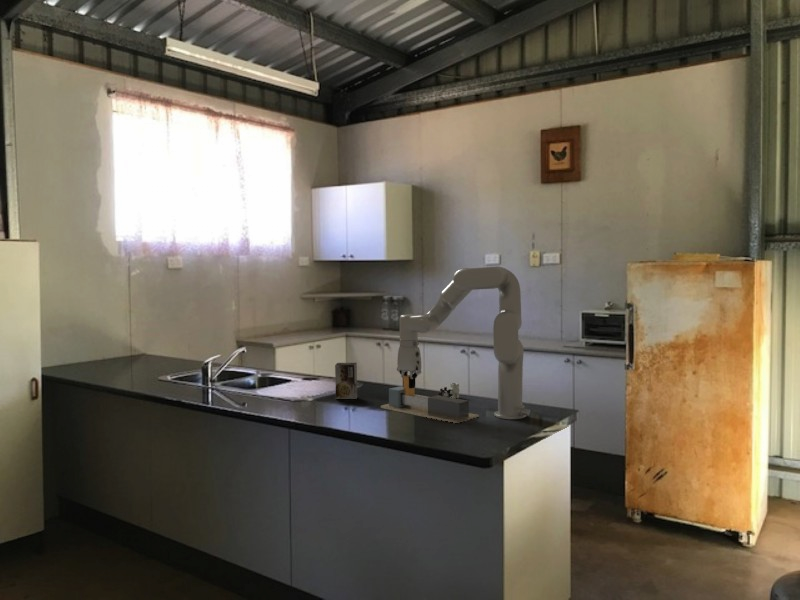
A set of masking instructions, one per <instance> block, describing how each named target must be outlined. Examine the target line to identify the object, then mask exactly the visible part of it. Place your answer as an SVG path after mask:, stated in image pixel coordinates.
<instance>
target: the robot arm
mask: <svg viewBox="0 0 800 600" xmlns="http://www.w3.org/2000/svg"><path fill="white" fill-rule="evenodd" d="M493 289H498V291H499V294H498V295H499V297H498V305H499V306H498V314H497V315H496V316H495V318H494V321H493V329H492V330H493V332H492V333H493V335H492V336H493V355H494V357H495V359H496V360H497V361H498V368H497V369H498V370H497V371H498V372H497V376H498V377H497V392H498V393H497V409H498V410H496V411H494V412H493V415H494V417H495V416H496V418H498V419H502V420H522V419H525V418H526V417H527V416H530V414H531V410H530V409H528V408H526V407H525V405H523V375H524V374H523V371H524V370H523V366H524V364H523V363H524V351H525V350H524V345H523V343H522V342H521V340H519V330H520V329H521V327H522V322H523V321H522V303H521V302H522V300H521V299H522V297H521V293H522V292H521V286H520V283H519V280H518V278H517V276H516V275H515V274H514V273H513V272H512V271H511V270H509V269H507V268H505V267H503V266H486V267H485V266H484V267H463V268H459V269H457V271H456V272H454V274H453V277H452V280H451V282H449V283H448V285H447V286H446V287H444V289H443V290H442V291H441V292H440V295H439V298H438V300H437V302H436V304H434V305H433V307H432V308H431V309H430V310H429V311H428V312H427V313H425V314H420V315H417V314H414V313H413V314H410V313H408V314H401V315H400V316H399V347H398V349H397V351H398V352H397V360H396V361H397V364H396V365H397V367H396V371H397V372H398V373H399V374H400V377H401V378H402V379H403V376H405V375H410V379H409V388H416V379H417V377H418V376H419V375H421V374H422V356H421V349H420V347H418V346H419V344H420V343H419V341H418V335H419V334H418V333H420V334H427V333H430V332H433V331H434V330H436V329H438V328H439V326H441V324H443V322H444V321H446V319H447V318H448V317H449V316H450V314H451V313H453V311H454V310H455V309H456V308H457V306H458V305H459V304H460V303H461V302H462V301H463V300H464V299H465V298H466V297H467V296H468V295H469V294H470V293H471V292H472V291H473V290H474V291H475V290H477V291H478V290H493Z"/></svg>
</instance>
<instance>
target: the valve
mask: <svg viewBox="0 0 800 600" xmlns="http://www.w3.org/2000/svg"><path fill="white" fill-rule="evenodd" d="M439 391H440V392H438V395H439V396H444V397H450V398H451V397H452V398H457V399H460V394H459V393H460V384H459V383H458V382H451V383H450V389H448V387H447V386H444V387H443V388H442V387H441V388H440V389H439Z"/></svg>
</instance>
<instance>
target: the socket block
mask: <svg viewBox="0 0 800 600" xmlns="http://www.w3.org/2000/svg"><path fill="white" fill-rule="evenodd" d="M401 393H404V388H403V385H401V386H396V387H392V388H391V387H390V388H388V404H389V405H391V406H396V407H400V406H405V404H401Z"/></svg>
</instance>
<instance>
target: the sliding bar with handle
mask: <svg viewBox="0 0 800 600" xmlns="http://www.w3.org/2000/svg"><path fill="white" fill-rule="evenodd" d="M409 379H410V374H408V375H405V376H403V378H402V386H403V388H404V393H401V404H405V405H410V406H415V407H420V408H425V409H428V397H429V396H426V395H419V394H415V393H416V392H415V388H416V387H415V388H409Z"/></svg>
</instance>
